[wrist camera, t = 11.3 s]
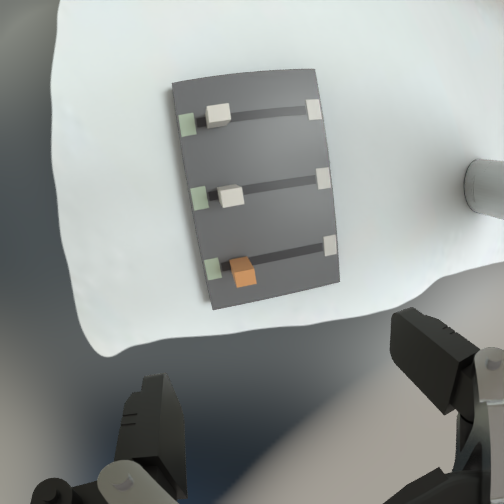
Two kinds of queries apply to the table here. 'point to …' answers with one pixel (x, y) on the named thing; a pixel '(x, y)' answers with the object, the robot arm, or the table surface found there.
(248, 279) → the block
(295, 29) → the table surface
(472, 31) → the table surface
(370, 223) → the table surface
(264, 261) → the panel
